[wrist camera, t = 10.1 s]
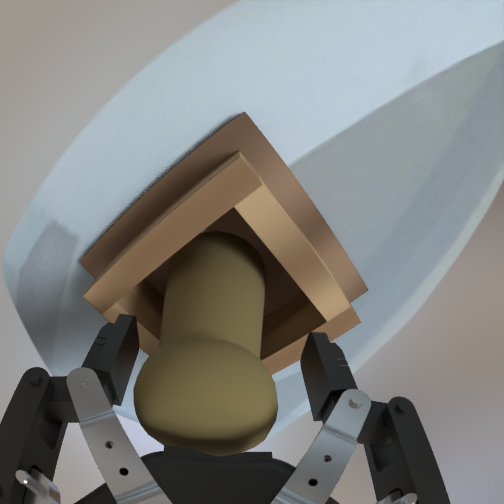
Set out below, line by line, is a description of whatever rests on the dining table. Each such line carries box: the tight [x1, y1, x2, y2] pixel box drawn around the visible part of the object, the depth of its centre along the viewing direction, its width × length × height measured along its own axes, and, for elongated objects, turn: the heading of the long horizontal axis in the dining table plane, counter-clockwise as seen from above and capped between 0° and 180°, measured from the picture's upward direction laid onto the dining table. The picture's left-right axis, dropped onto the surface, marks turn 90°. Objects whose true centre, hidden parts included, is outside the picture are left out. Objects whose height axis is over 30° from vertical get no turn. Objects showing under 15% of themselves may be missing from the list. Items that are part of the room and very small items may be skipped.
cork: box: [134, 231, 278, 456], centre depth 13 cm, size 6×6×11 cm
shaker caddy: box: [80, 112, 368, 375], centre depth 16 cm, size 14×14×4 cm
